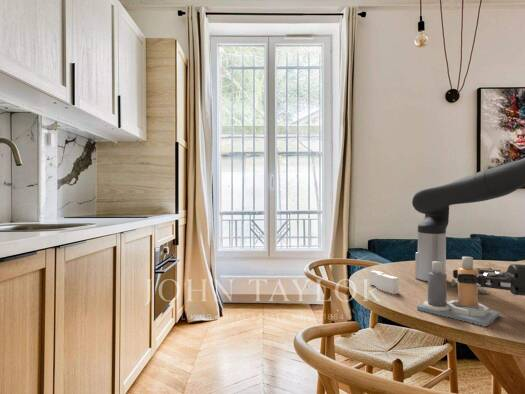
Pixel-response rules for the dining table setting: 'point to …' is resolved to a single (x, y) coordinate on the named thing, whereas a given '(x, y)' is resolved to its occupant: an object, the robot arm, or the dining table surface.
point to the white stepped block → (384, 282)
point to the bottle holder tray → (452, 301)
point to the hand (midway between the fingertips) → (455, 275)
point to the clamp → (478, 286)
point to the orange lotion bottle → (467, 284)
